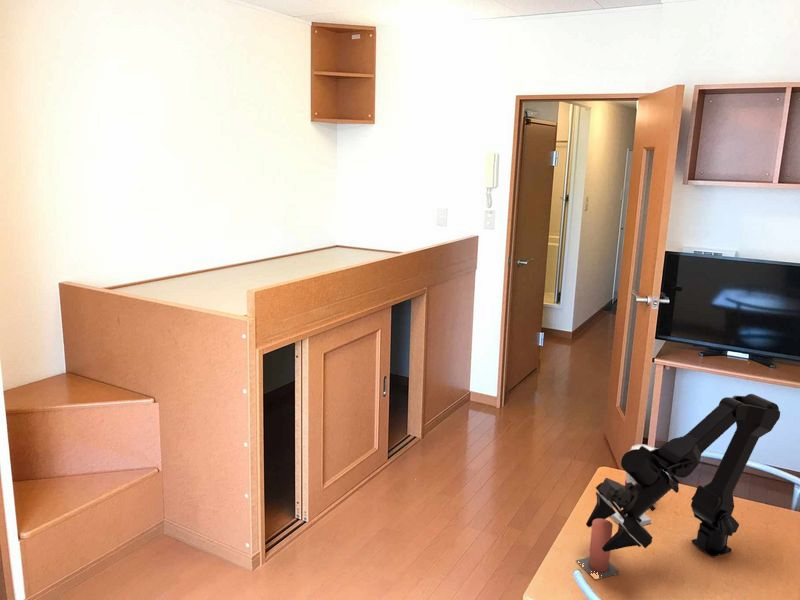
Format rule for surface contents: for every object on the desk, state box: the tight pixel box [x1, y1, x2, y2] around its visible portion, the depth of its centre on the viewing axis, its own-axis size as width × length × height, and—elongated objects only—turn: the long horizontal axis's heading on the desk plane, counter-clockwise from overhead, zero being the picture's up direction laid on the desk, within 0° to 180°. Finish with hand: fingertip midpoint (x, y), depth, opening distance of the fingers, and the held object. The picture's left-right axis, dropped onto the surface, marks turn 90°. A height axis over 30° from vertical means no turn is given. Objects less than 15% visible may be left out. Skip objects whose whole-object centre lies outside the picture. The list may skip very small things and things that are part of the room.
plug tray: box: [609, 510, 652, 528], centre depth 166 cm, size 8×6×4 cm
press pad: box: [575, 556, 621, 579], centre depth 148 cm, size 7×7×1 cm
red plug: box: [588, 518, 614, 573], centre depth 147 cm, size 4×4×11 cm
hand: (595, 537), depth 146 cm, fingers open, 9 cm apart
